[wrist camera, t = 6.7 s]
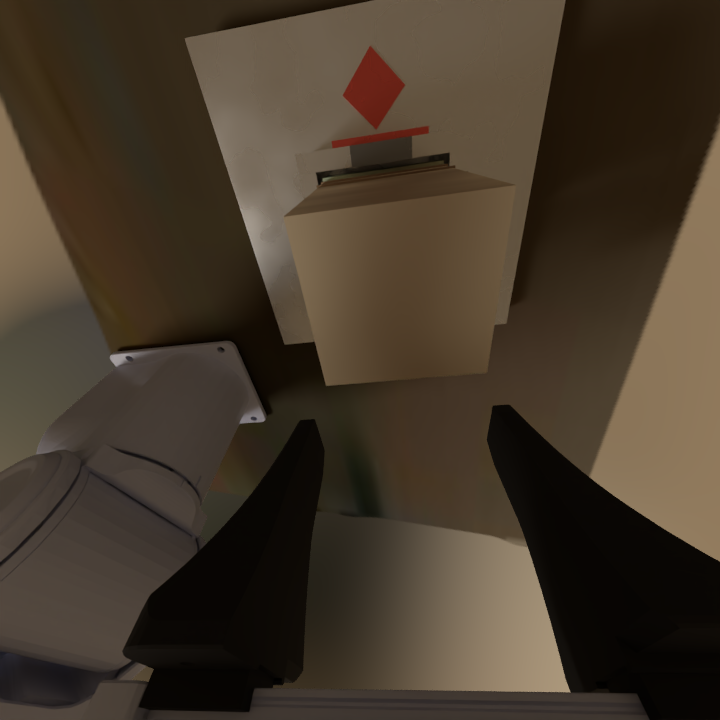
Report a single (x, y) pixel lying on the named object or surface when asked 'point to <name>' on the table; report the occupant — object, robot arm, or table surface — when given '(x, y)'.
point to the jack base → (375, 110)
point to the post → (402, 270)
